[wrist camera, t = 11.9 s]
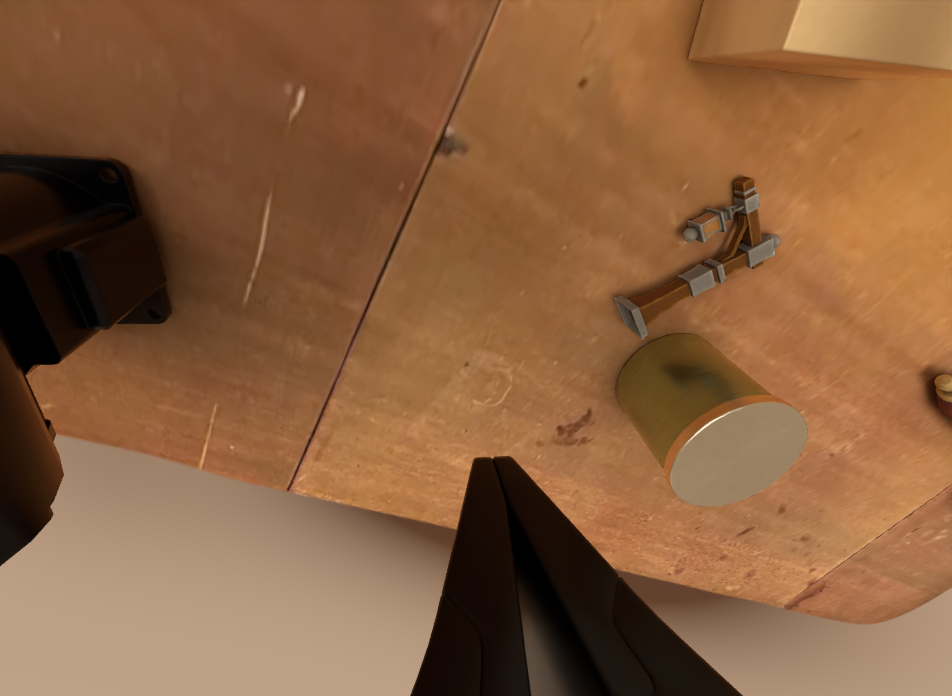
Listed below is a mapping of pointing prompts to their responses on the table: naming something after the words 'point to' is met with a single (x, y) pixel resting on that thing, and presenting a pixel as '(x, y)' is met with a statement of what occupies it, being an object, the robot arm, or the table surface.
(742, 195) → the wooden lantern post
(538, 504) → the robot arm
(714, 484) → the enamel tin
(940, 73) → the birch block
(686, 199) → the table surface
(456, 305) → the table surface
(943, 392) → the gavel
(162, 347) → the table surface
